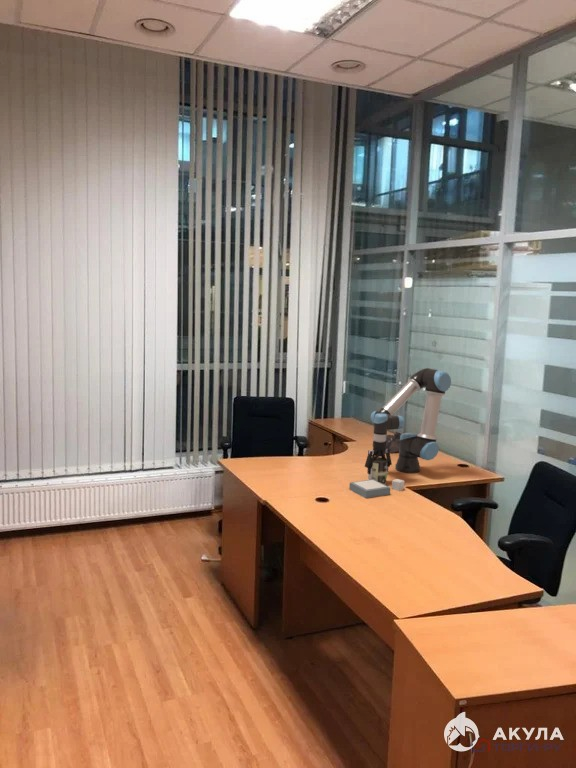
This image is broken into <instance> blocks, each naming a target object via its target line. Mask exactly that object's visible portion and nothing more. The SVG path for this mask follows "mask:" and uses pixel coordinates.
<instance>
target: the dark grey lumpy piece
mask: <svg viewBox="0 0 576 768" xmlns="http://www.w3.org/2000/svg"><path fill="white" fill-rule="evenodd" d="M401 434H402V433H401V432H398V431H395V433H393V434H387V439H386V448H387V449H390V454H392V453H399V444H400V436H401ZM386 448H385V449H386Z"/></svg>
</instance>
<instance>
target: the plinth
mask: <svg viewBox="0 0 576 768" xmlns="http://www.w3.org/2000/svg"><path fill="white" fill-rule="evenodd" d="M348 490H350V491H352V492H354V493H355V494H357V495H358V496H360V497H363V498H364V499H371V498H377V496H378V497H383V495H384V496H388V495H389V496H390V495H391V486H388V485H387V484H385V485H384V484H382V483H380V482H378V481H376V480H374V479H371V480H369V479H366V480H359V481H358V480H357V481H350V482H349V488H348Z"/></svg>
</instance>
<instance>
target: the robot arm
mask: <svg viewBox="0 0 576 768" xmlns="http://www.w3.org/2000/svg"><path fill="white" fill-rule="evenodd" d="M451 386H452V378H451V375H449V373H448V372H446V371H445V370H441V369H440V370H439V369H435V368H428V367H427V368H425V367H424V368H422V369H420V370H418V371H417V372H415V373H413V375H411V376H410V377H409V378H407V383H405V384H404V385H403V386H402V387H401V389H399V390H398V392H397V393H395V394H394V395H393V396H392V397H391V398H390V399H389V400H388V401H387V402H386V403H385V404H384V405H383V406H382V407H381V408H380V409H379V410H374V411H373V412H371V414H370V420H371V422H372V423H373V433H372V434H373V438H372V450H368V451H367V453H368V454H367V456H366V461H365V464H364V467H365V468H367V470H366V471H367V474H368V475H367V480H369V479H370V480H371V479H372V466H373V462H371V460H373V461H375V460H376V459H377V457H382V459H387V460H388V461H387V473H388V472H389V468H390V467H391V466H392V458H391V453H390V449H387V448H386V439H387V435H388V434H387V433H388V431H390V430H400V429H403V428H405V427H404V426H405V418H404V416H402V415H394V414H395V413H396V412H397V411H398V410H399V409H400V408H401V407H402V406H404V404H405V403H406V402H407V401H408V400H409V399H410V398H412V396H413V395H414V394H415V393H416V392H419V391H421V390H422V389H423V388H425V389H424V390H425V392H426V400H425V405H424V409H423V415H422V421H421V425H420V431H419V433H418V432H417V433H416V432H405V433H401V436H400V444H399V451H398V458H397V460H396V463H395V466H394V467H395V470H396V471H398V472H401V473H402V472H403V473H407V474H409V473H410V474H412V473H413V474H414V473H418V472H421V471H420V470H421V466H420V461H419V459H421V460H425V461H430V460H434V459H435V458H436V456H438V454H439V450H440V449H439V448H440V447H439V444H438V443H437V437H436V436H435V434H436V429H437V423H438V419H439V413H440V408H441V403H442V397H443V396H444V395H445V394H446V392H447V391H448V390H449V389H450V388H451ZM385 448H386V449H385ZM387 478H388V475H387V476H386V479H387Z"/></svg>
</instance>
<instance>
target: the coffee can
mask: <svg viewBox="0 0 576 768" xmlns="http://www.w3.org/2000/svg"><path fill="white" fill-rule="evenodd" d="M387 461H388V460H387V458H386V459H382V457H377V459H376V460H375V461H373V460H371V462H373V466H372V479H374V480H376V481H378V482H380V483H382V484H384V485H387V478H386V476H387V477H388V472H387ZM368 480H370V479H368Z"/></svg>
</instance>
